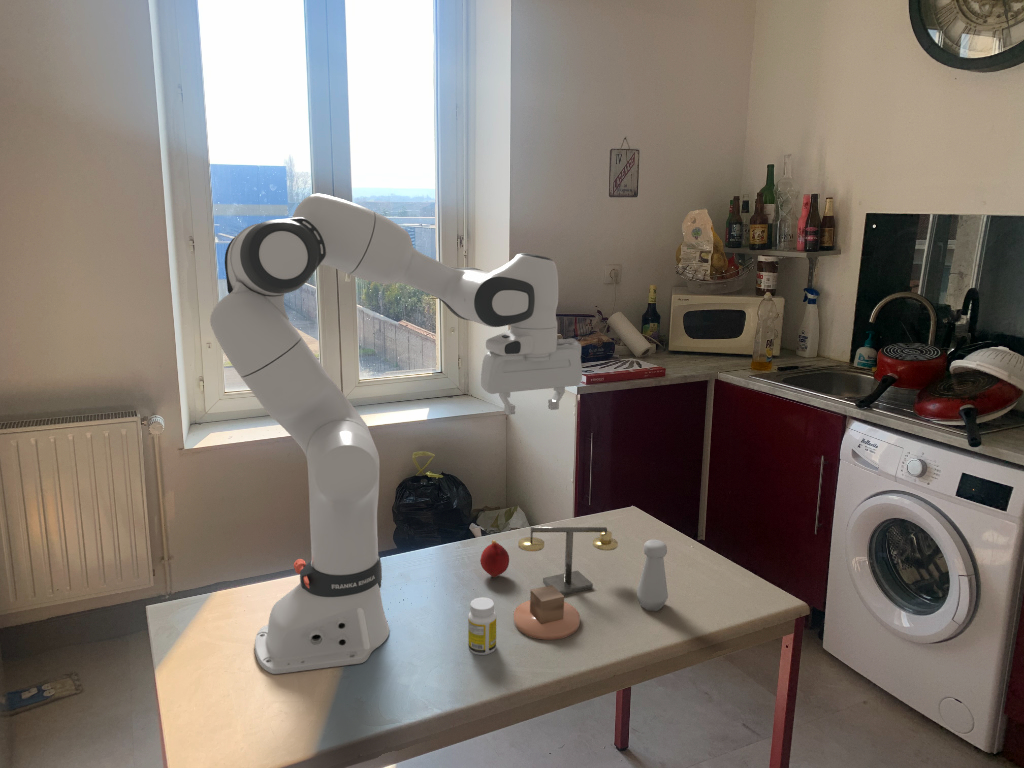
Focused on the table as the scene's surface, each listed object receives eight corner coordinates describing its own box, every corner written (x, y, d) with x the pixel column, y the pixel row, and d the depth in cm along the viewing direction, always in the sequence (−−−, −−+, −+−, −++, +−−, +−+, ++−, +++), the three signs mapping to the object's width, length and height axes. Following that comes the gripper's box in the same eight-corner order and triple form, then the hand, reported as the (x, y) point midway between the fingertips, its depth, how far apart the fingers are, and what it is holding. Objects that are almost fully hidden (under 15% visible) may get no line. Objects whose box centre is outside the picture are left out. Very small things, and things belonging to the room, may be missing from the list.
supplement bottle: (490, 637, 129) (491, 594, 127) (500, 652, 124) (500, 607, 122) (464, 642, 127) (464, 598, 125) (473, 658, 123) (473, 612, 121)
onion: (510, 570, 152) (510, 535, 151) (507, 584, 147) (508, 547, 145) (482, 569, 153) (482, 533, 151) (478, 582, 147) (478, 545, 145)
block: (529, 612, 135) (530, 589, 134) (551, 606, 137) (552, 584, 135) (541, 624, 131) (541, 601, 130) (563, 619, 133) (564, 596, 132)
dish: (531, 646, 126) (532, 639, 126) (503, 611, 137) (503, 606, 136) (591, 630, 131) (592, 624, 131) (559, 598, 142) (559, 593, 141)
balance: (525, 603, 140) (527, 535, 137) (511, 589, 145) (513, 523, 142) (621, 581, 149) (625, 517, 146) (606, 568, 154) (609, 506, 151)
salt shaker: (642, 594, 144) (646, 533, 141) (671, 602, 141) (675, 540, 138) (631, 607, 139) (635, 544, 136) (660, 616, 136) (665, 552, 133)
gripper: (573, 335, 146) (570, 402, 149) (477, 341, 137) (477, 412, 140) (589, 340, 140) (586, 410, 143) (491, 346, 131) (490, 421, 135)
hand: (531, 411), depth 142 cm, fingers open, 8 cm apart
